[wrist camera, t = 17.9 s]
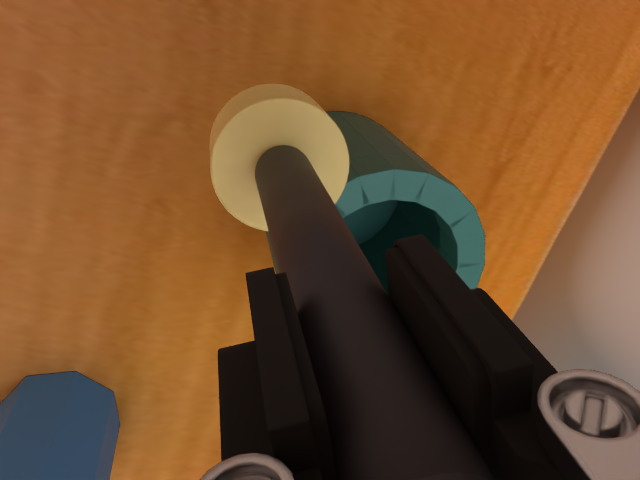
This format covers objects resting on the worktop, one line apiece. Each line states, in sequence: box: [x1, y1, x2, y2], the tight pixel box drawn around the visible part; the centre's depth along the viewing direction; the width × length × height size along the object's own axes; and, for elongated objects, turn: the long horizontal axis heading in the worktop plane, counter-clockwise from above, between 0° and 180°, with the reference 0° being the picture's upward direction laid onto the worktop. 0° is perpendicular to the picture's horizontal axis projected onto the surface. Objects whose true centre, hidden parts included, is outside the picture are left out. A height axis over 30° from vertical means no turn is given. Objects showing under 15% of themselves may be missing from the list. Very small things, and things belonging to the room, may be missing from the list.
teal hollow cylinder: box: [266, 111, 485, 297], centre depth 33 cm, size 11×11×13 cm
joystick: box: [209, 83, 495, 480], centre depth 13 cm, size 5×5×18 cm
